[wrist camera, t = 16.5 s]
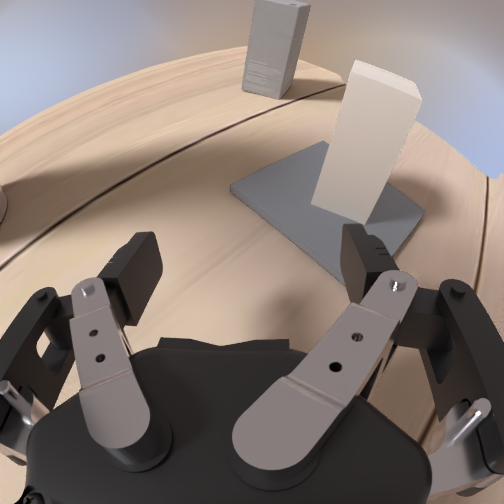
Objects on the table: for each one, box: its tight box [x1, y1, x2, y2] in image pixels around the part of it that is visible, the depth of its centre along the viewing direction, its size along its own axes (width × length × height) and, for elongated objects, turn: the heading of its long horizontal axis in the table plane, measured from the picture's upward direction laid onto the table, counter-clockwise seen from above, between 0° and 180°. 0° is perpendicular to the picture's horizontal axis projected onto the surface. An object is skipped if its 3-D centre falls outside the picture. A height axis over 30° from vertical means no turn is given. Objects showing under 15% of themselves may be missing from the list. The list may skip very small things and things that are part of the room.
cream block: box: [311, 60, 422, 225], centre depth 22 cm, size 5×5×12 cm
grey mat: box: [230, 141, 426, 286], centre depth 27 cm, size 14×14×1 cm
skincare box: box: [242, 0, 311, 99], centre depth 37 cm, size 8×7×16 cm
